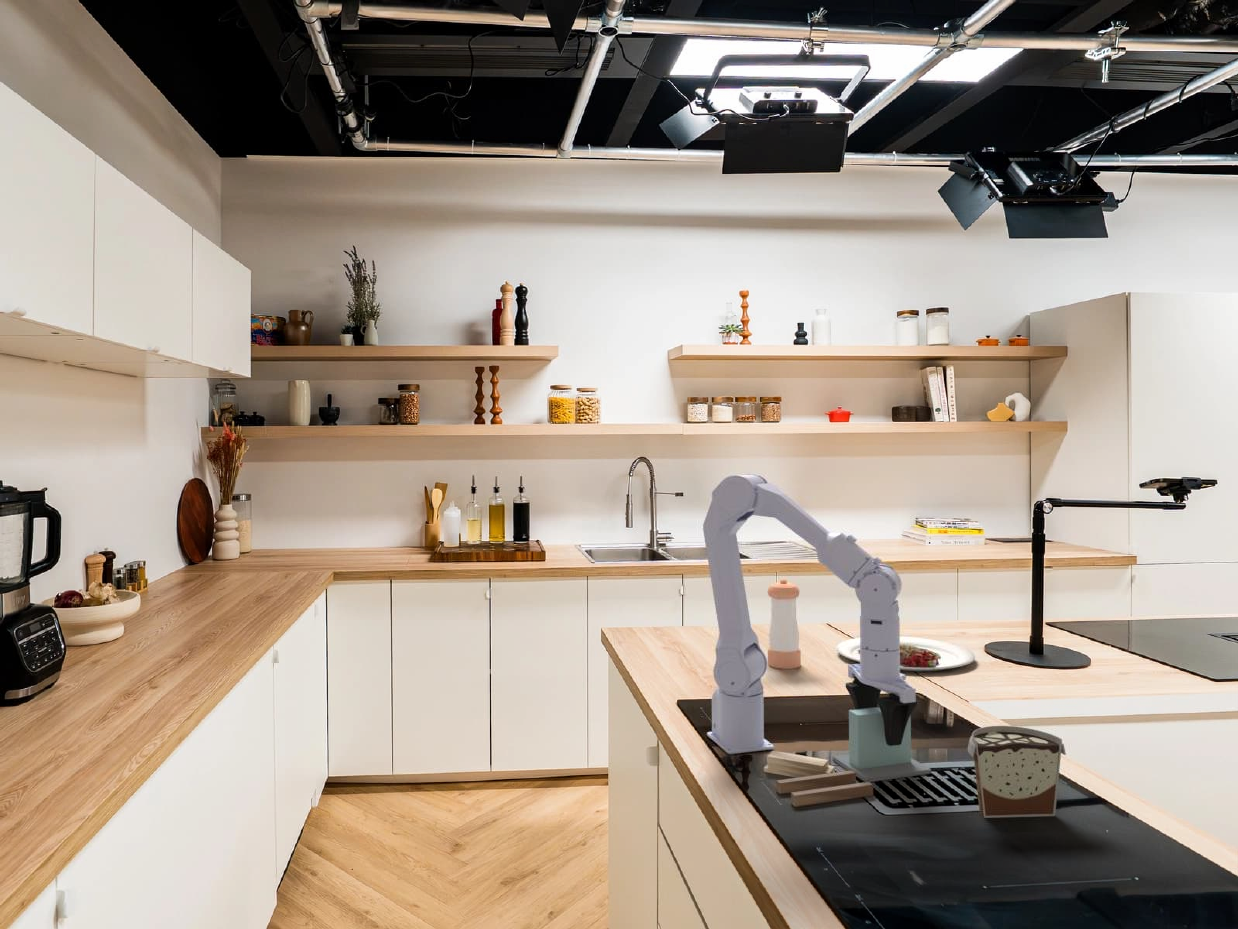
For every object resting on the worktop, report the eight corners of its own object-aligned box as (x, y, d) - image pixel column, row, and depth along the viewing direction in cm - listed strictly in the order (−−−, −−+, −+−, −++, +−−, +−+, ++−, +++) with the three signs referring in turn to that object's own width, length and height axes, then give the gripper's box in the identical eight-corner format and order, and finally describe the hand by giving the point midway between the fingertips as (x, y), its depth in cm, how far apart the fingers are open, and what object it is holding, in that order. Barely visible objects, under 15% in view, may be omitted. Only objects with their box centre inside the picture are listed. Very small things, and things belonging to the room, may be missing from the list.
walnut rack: (776, 791, 114) (776, 780, 114) (851, 780, 117) (851, 770, 117) (794, 806, 109) (794, 795, 109) (873, 795, 112) (872, 784, 112)
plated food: (892, 638, 208) (892, 625, 208) (1002, 662, 182) (1002, 647, 182) (809, 655, 191) (809, 641, 191) (918, 684, 166) (918, 668, 166)
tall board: (849, 763, 122) (848, 710, 122) (900, 756, 125) (900, 704, 124) (858, 769, 120) (858, 715, 120) (911, 762, 122) (910, 709, 122)
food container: (1040, 795, 111) (1039, 723, 111) (1066, 815, 105) (1065, 739, 105) (951, 798, 111) (951, 725, 111) (972, 818, 105) (972, 741, 105)
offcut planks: (770, 767, 124) (769, 749, 123) (836, 778, 119) (835, 760, 119) (763, 774, 121) (763, 756, 121) (831, 786, 116) (830, 767, 116)
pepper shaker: (798, 660, 185) (797, 577, 185) (802, 669, 178) (801, 582, 178) (766, 660, 186) (765, 577, 186) (769, 668, 178) (768, 582, 178)
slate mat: (832, 760, 125) (832, 756, 125) (894, 752, 128) (894, 748, 128) (865, 782, 116) (865, 778, 116) (931, 773, 119) (931, 769, 119)
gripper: (933, 656, 116) (934, 750, 116) (875, 635, 130) (875, 719, 130) (890, 660, 114) (891, 756, 114) (836, 638, 128) (836, 723, 128)
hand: (880, 737), depth 122 cm, fingers open, 6 cm apart
